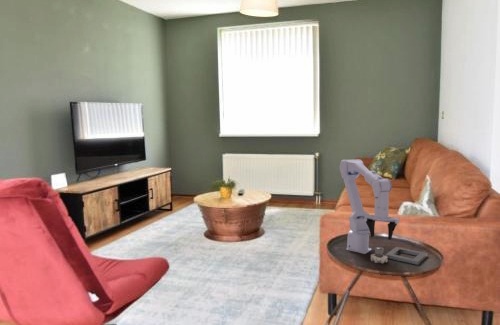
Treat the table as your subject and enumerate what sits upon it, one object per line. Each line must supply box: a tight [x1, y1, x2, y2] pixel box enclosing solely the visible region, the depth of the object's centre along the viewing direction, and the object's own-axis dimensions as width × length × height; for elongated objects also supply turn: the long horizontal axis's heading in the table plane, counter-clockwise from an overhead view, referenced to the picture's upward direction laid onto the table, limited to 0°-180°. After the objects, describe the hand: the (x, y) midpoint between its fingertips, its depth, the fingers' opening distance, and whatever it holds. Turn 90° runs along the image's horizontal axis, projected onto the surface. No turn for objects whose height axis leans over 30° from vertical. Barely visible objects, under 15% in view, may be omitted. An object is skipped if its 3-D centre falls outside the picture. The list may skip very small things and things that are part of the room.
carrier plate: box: [384, 246, 428, 266], centre depth 184 cm, size 14×14×2 cm
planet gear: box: [370, 246, 389, 264], centre depth 179 cm, size 7×7×6 cm
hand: (381, 237), depth 178 cm, fingers open, 7 cm apart
